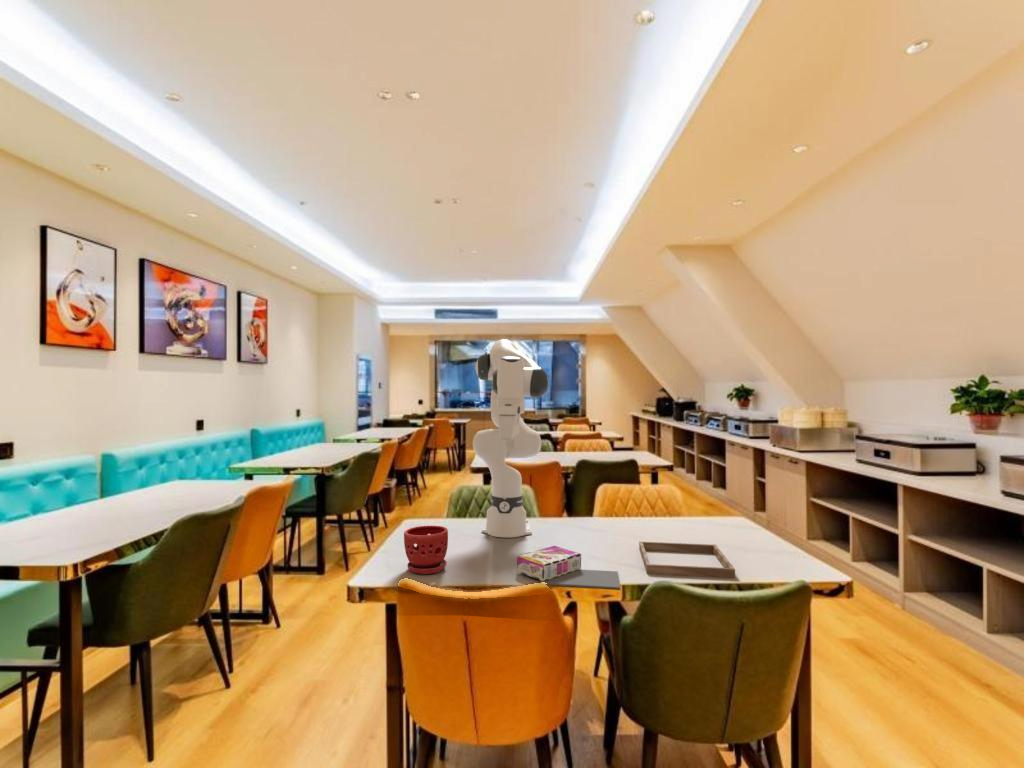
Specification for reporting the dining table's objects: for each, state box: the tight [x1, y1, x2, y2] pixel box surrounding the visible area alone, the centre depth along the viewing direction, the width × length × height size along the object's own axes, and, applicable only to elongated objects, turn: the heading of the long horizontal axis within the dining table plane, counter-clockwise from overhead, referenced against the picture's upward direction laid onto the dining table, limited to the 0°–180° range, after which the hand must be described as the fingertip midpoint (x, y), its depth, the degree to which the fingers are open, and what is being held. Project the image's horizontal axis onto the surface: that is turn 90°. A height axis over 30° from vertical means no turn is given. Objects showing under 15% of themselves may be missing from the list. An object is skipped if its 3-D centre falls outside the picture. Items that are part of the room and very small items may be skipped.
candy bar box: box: [516, 545, 582, 582], centre depth 165 cm, size 11×5×16 cm
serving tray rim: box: [638, 541, 736, 579], centre depth 175 cm, size 25×25×2 cm
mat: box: [539, 569, 621, 590], centre depth 160 cm, size 13×22×1 cm, turn 82°
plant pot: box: [403, 525, 449, 575], centre depth 167 cm, size 13×13×12 cm
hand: (510, 451), depth 176 cm, fingers closed
